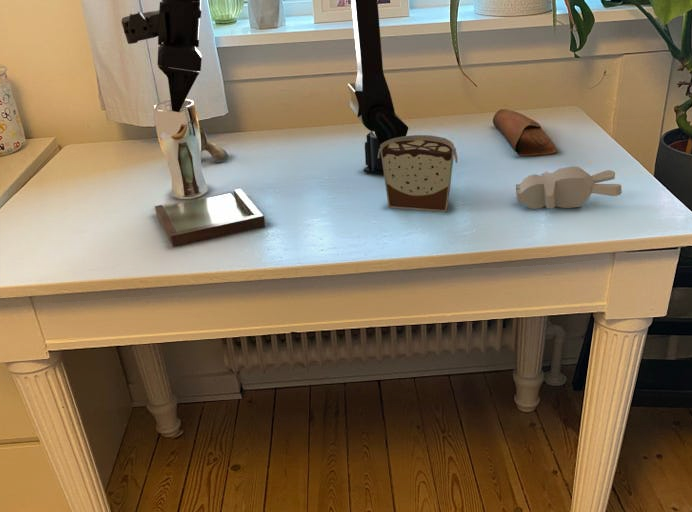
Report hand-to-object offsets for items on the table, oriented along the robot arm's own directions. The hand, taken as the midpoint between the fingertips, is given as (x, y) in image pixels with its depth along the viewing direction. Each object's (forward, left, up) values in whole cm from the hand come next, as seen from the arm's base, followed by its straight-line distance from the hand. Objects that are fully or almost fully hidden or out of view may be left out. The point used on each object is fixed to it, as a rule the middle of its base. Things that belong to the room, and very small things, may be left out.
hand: (175, 103), depth 120 cm
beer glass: (+1, -1, -16) cm, 16 cm away
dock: (-9, +8, -15) cm, 20 cm away
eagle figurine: (+10, -16, -16) cm, 24 cm away
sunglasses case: (-44, -44, -16) cm, 65 cm away
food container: (-38, -10, -16) cm, 43 cm away
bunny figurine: (-59, -17, -16) cm, 64 cm away
